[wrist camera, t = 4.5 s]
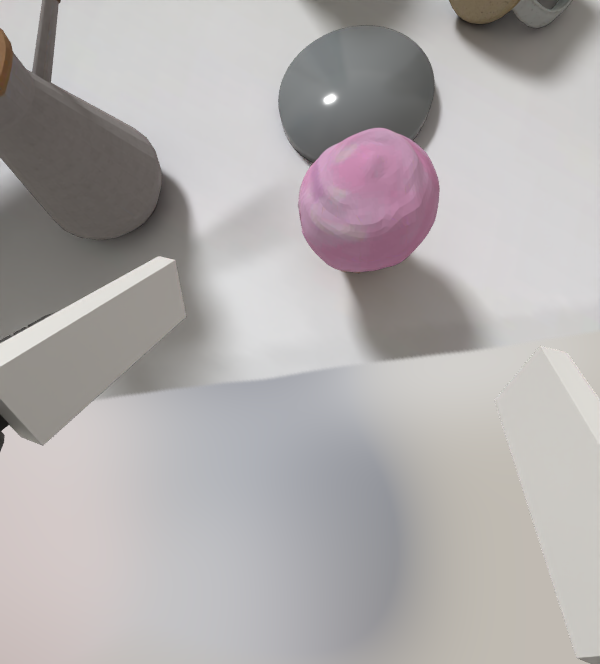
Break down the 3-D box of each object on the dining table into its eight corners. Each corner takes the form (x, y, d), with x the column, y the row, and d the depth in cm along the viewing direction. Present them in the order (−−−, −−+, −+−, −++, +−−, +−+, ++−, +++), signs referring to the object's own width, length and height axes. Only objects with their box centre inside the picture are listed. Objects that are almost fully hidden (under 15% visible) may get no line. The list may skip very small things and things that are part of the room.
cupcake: (390, 187, 25) (423, 70, 15) (426, 275, 24) (488, 207, 14) (296, 222, 26) (270, 131, 16) (325, 309, 24) (316, 267, 15)
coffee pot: (133, 271, 28) (-102, 156, 13) (55, 220, 30) (-224, 71, 15) (250, 96, 29) (157, -198, 14) (166, 58, 31) (7, -230, 16)
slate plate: (264, 158, 27) (260, 148, 26) (302, 35, 29) (300, 20, 27) (411, 181, 25) (414, 171, 24) (444, 45, 26) (449, 30, 25)
